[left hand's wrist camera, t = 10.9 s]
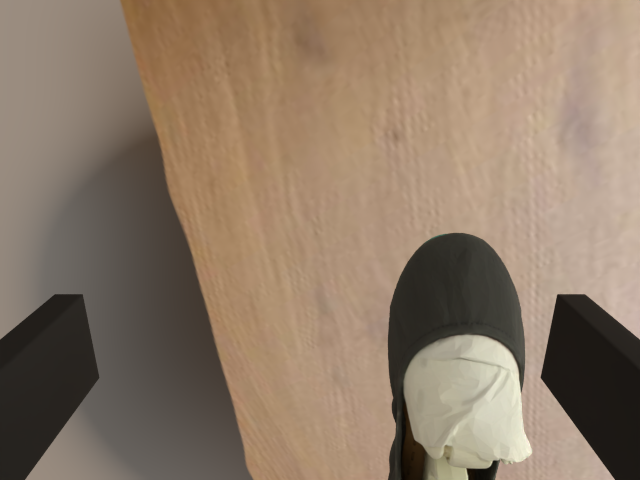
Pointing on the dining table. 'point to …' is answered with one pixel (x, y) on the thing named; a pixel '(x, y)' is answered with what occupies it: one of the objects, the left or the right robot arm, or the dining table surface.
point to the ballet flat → (456, 363)
